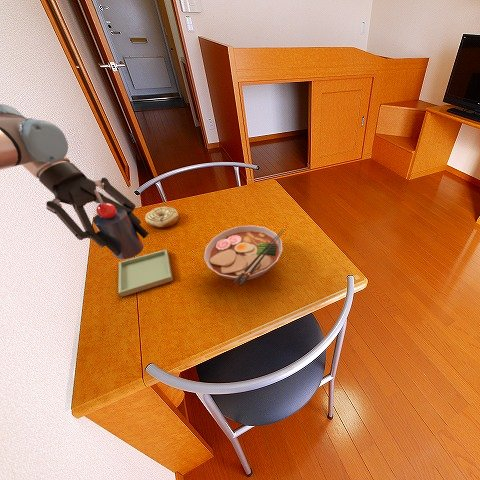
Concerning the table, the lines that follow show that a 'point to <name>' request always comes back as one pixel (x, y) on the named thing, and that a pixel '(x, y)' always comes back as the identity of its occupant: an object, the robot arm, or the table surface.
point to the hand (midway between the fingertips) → (133, 244)
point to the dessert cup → (117, 229)
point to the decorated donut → (162, 217)
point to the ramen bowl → (243, 252)
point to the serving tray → (144, 272)
